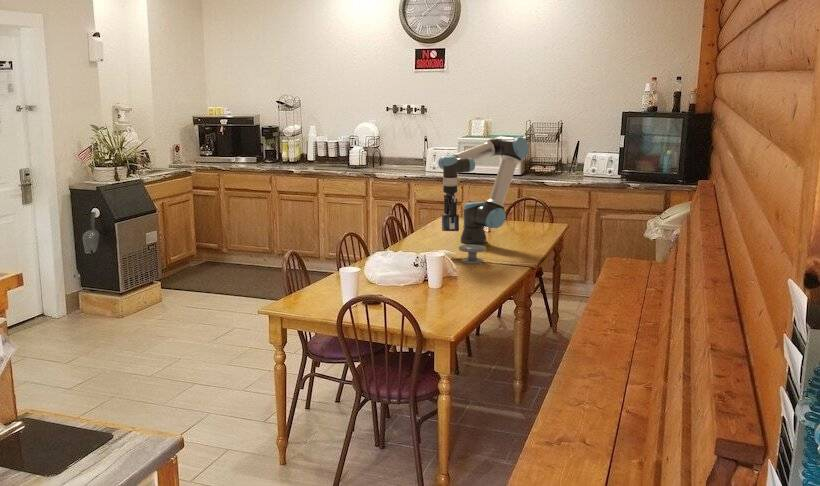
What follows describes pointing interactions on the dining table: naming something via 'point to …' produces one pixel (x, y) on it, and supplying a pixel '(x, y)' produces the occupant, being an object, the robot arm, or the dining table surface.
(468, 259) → the cake stand
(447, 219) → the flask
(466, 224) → the robot arm
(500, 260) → the dining table surface
